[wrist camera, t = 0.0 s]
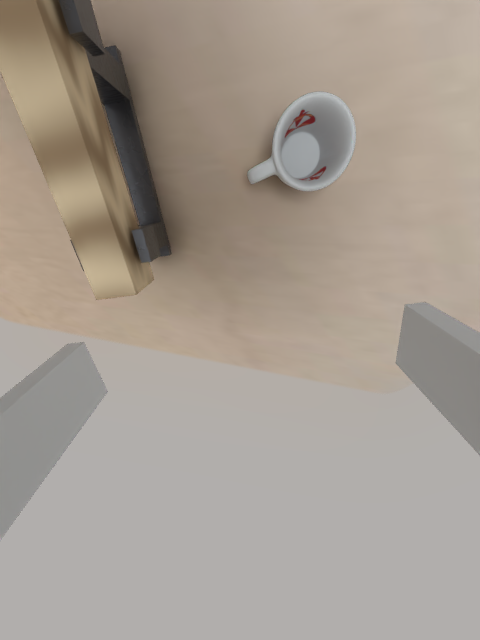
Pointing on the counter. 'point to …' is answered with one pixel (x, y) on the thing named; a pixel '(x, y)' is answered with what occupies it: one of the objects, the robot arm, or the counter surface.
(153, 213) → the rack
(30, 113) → the rail
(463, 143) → the counter surface
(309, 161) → the cup
